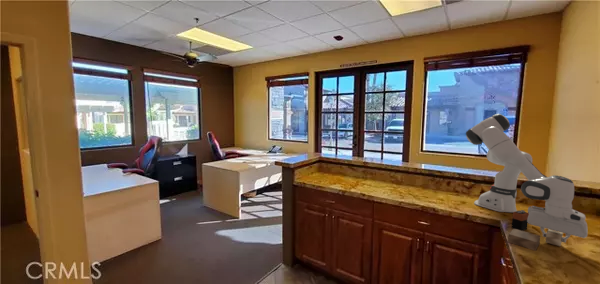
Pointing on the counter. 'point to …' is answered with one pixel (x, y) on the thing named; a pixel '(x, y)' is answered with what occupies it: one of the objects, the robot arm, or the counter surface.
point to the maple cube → (554, 237)
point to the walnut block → (524, 239)
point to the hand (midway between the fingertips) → (553, 239)
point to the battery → (520, 220)
